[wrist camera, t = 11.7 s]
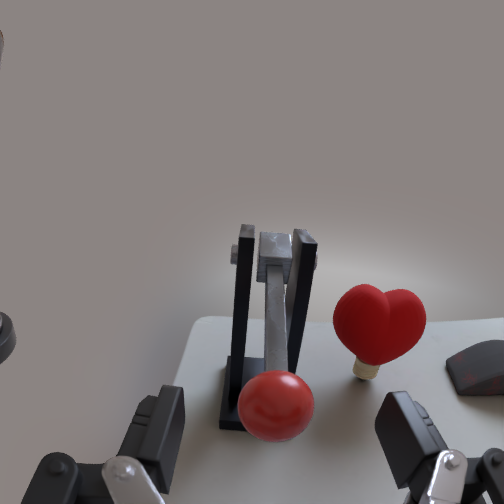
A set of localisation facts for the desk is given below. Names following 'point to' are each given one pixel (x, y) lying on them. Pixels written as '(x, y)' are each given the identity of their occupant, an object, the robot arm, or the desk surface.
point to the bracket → (295, 306)
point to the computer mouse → (479, 369)
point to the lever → (275, 356)
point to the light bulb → (378, 326)
